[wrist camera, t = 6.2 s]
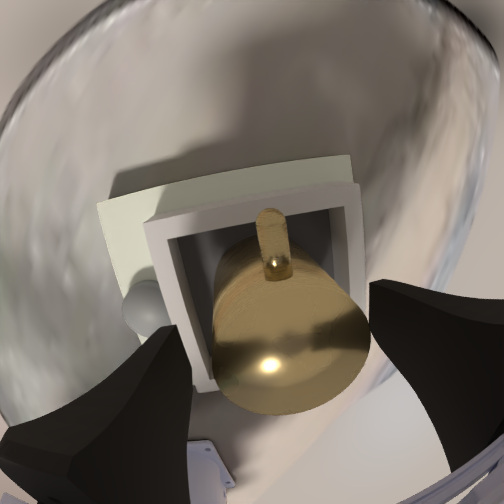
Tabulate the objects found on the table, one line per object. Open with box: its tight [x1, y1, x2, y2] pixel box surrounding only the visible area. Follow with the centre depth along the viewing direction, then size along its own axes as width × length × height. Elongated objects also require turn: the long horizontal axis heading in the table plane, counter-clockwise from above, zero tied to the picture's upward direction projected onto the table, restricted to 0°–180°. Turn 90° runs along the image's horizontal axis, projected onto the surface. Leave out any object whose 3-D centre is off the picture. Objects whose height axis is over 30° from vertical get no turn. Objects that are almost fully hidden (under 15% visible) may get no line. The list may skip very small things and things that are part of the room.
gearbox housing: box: [96, 154, 366, 393], centre depth 13 cm, size 11×12×4 cm
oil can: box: [212, 208, 371, 415], centre depth 10 cm, size 7×5×6 cm
